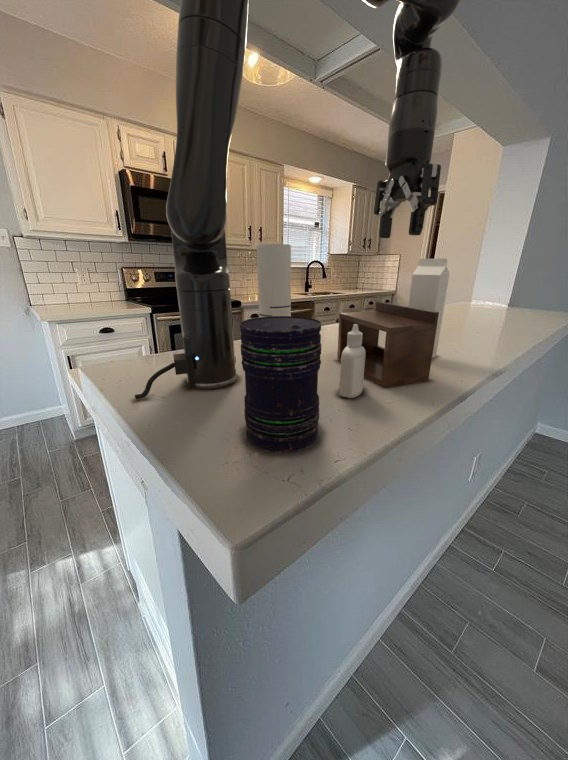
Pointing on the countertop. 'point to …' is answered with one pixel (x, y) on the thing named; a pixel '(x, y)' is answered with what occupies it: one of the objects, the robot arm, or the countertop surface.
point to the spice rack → (393, 342)
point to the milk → (430, 289)
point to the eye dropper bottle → (352, 365)
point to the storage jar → (281, 381)
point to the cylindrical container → (274, 279)
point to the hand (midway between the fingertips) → (398, 236)
